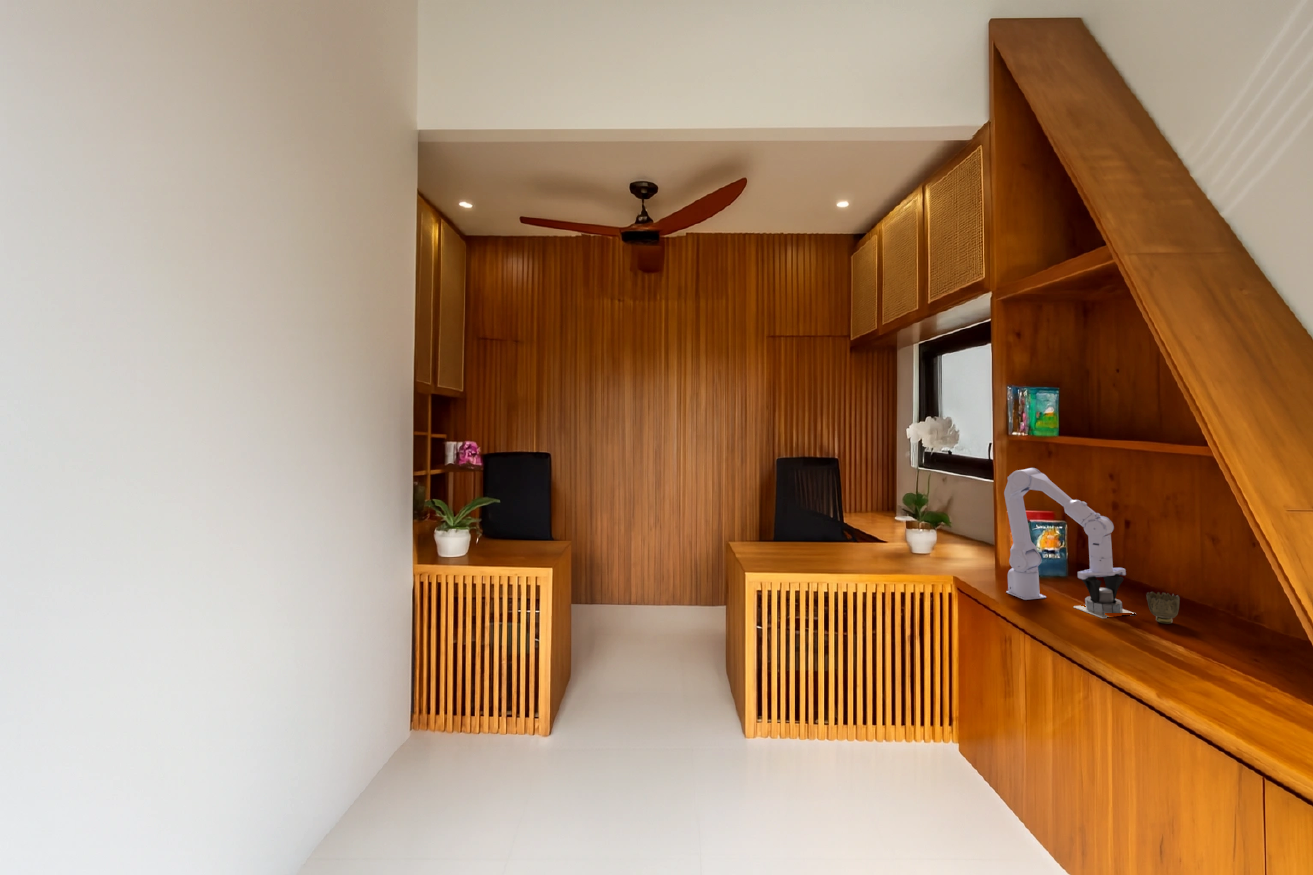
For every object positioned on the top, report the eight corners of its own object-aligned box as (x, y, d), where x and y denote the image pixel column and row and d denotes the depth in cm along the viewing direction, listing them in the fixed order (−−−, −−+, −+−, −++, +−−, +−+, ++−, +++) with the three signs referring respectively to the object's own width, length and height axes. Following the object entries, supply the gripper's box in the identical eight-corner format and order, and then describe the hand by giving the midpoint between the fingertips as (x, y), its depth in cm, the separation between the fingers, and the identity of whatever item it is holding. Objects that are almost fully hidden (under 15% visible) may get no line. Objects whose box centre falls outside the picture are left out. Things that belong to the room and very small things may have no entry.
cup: (1178, 628, 165) (1176, 600, 164) (1145, 623, 170) (1143, 595, 170) (1183, 621, 169) (1182, 594, 169) (1150, 616, 175) (1149, 589, 175)
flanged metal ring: (1073, 607, 187) (1072, 596, 187) (1104, 604, 188) (1104, 593, 188) (1102, 618, 176) (1102, 607, 176) (1136, 614, 177) (1135, 603, 177)
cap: (1089, 603, 184) (1088, 588, 184) (1102, 602, 185) (1102, 586, 185) (1103, 608, 179) (1103, 592, 179) (1117, 606, 180) (1117, 590, 180)
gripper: (1089, 561, 177) (1092, 605, 177) (1133, 556, 178) (1136, 600, 179) (1071, 556, 184) (1073, 598, 184) (1113, 552, 185) (1115, 594, 186)
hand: (1103, 599), depth 182 cm, fingers closed on cap, 5 cm apart
